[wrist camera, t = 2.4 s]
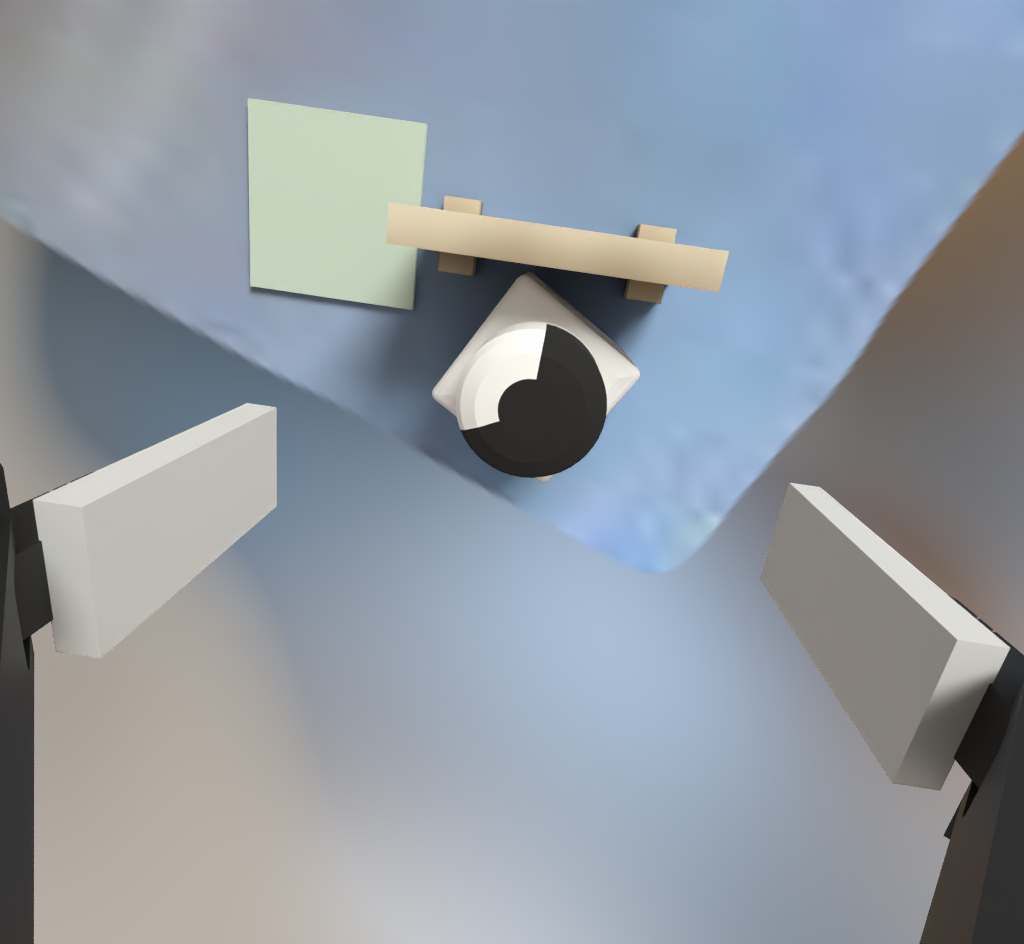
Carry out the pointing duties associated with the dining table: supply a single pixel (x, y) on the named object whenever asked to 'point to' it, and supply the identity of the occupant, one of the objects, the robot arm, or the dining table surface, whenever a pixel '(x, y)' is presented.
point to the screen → (555, 248)
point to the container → (535, 383)
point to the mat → (331, 202)
